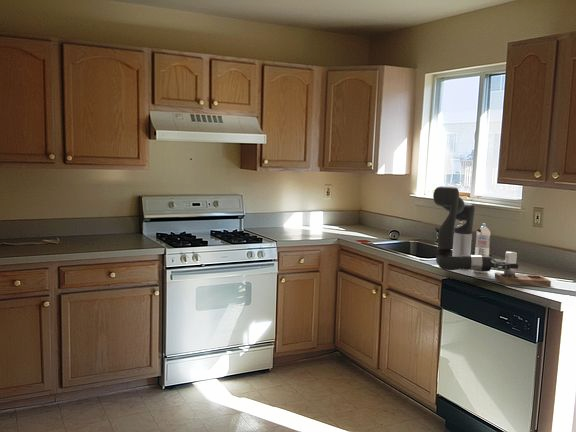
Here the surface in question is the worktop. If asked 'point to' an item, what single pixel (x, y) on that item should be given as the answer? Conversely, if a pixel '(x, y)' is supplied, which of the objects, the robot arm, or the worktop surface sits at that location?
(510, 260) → the peg
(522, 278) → the wooden tray
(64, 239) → the worktop surface
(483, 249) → the water bottle
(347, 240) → the worktop surface
